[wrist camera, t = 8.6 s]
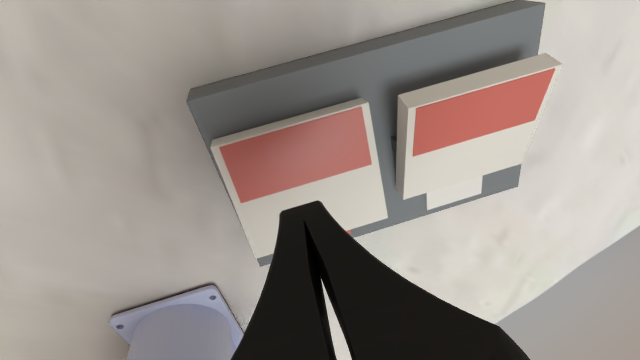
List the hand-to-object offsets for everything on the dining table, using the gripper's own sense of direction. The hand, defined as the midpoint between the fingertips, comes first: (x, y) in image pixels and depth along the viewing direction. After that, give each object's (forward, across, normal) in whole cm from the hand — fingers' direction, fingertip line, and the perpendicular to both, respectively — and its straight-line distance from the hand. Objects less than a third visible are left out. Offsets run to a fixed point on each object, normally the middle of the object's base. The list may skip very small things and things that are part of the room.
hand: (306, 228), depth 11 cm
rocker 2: (+7, -10, +3) cm, 13 cm away
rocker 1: (+7, -1, +3) cm, 8 cm away
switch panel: (+10, -6, +3) cm, 12 cm away
